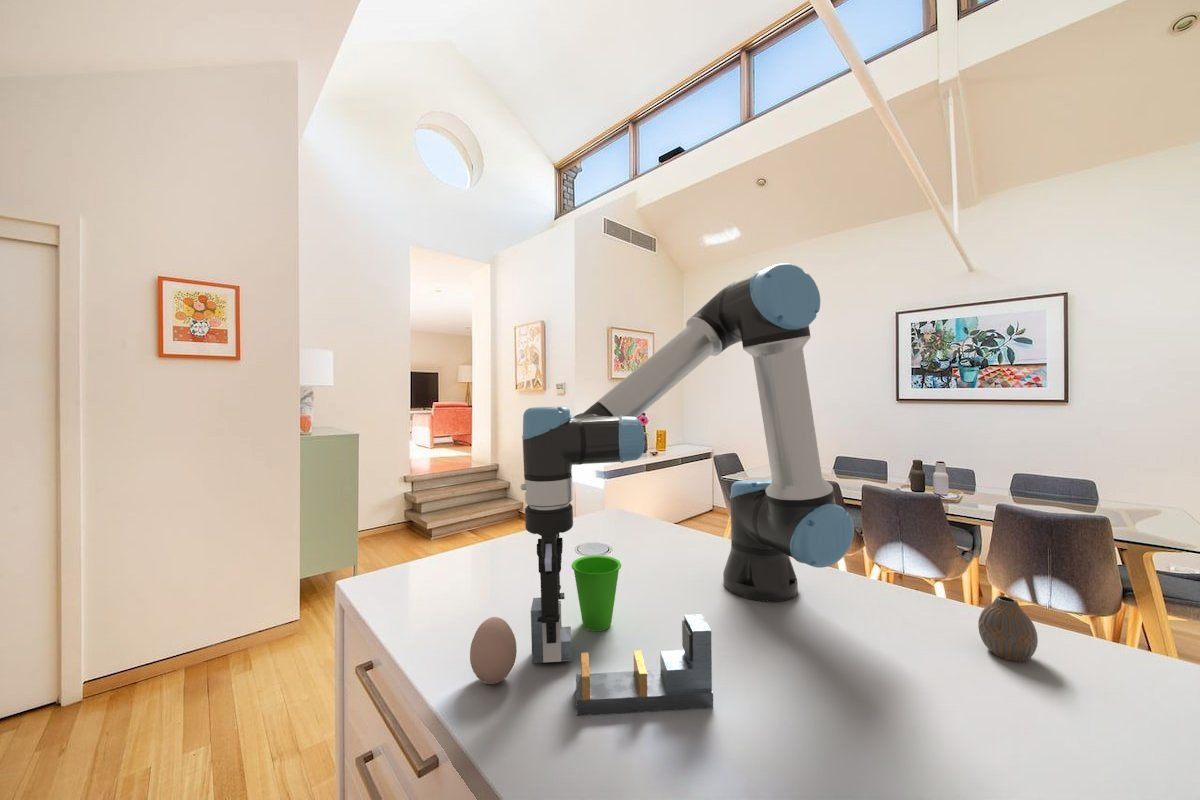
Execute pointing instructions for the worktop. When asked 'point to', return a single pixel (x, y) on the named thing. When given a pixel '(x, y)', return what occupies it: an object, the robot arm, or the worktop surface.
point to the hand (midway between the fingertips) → (553, 650)
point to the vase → (1007, 630)
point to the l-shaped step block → (538, 636)
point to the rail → (653, 679)
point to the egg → (493, 650)
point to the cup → (596, 589)
